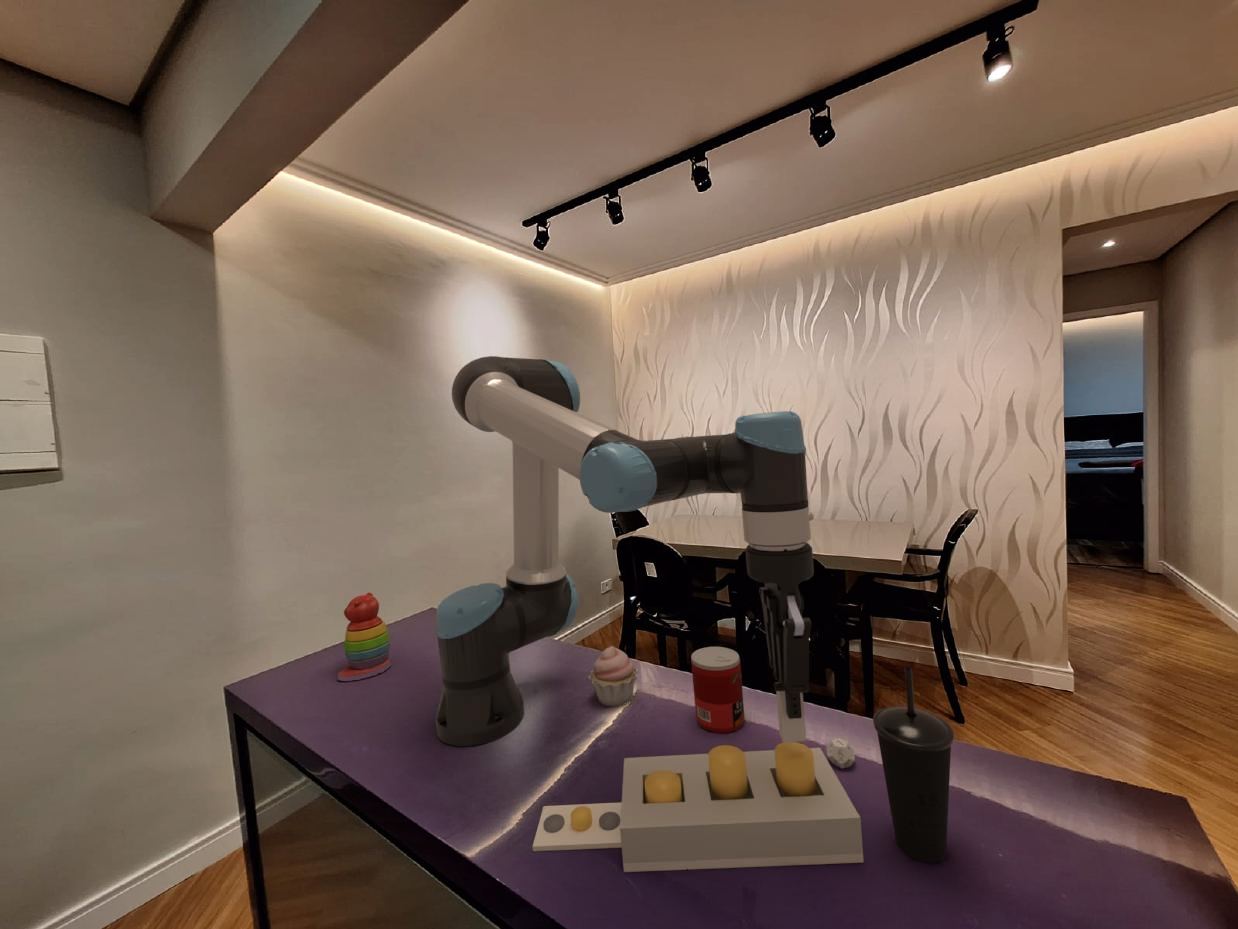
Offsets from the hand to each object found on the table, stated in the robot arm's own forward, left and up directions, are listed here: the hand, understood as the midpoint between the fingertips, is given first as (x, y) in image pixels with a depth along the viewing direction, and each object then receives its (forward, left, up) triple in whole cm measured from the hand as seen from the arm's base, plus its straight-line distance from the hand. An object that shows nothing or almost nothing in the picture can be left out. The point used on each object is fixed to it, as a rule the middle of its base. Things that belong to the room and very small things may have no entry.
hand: (792, 737), depth 58 cm
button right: (0, 0, -6) cm, 6 cm away
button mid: (-8, 0, -6) cm, 10 cm away
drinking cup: (+12, -4, -11) cm, 17 cm away
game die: (+9, +10, -11) cm, 17 cm away
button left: (-16, 0, -9) cm, 18 cm away
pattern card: (-27, +1, -10) cm, 28 cm away
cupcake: (-24, +31, -11) cm, 41 cm away
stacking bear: (-83, +50, -11) cm, 97 cm away
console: (-8, 0, -10) cm, 13 cm away
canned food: (-6, +22, -11) cm, 25 cm away
